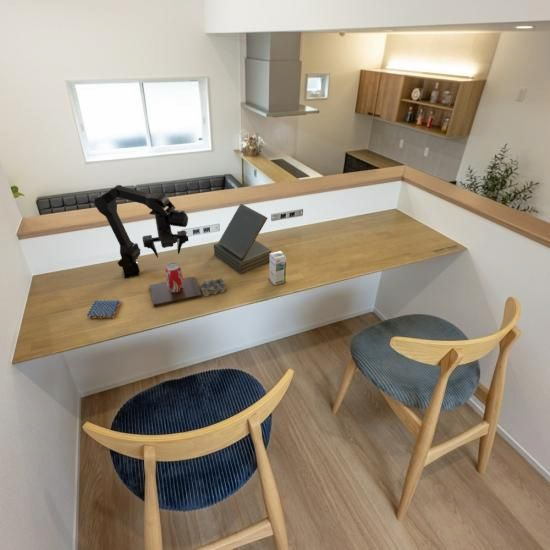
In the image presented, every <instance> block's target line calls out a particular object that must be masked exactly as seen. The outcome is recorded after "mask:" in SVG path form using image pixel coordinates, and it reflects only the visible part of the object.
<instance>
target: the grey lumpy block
mask: <svg viewBox="0 0 550 550" xmlns="http://www.w3.org/2000/svg"><path fill="white" fill-rule="evenodd" d="M199 287H200V292H202V295H203V296H206V297H209V296H210V295H216V294H217V293H222V294H223V293H225V291H226V288H227V286H226V284H225V281H224V280H223V278H222V277H219V278H217V279H216V278H215V279H210V280H203V281H201V282H200V283H199Z"/></svg>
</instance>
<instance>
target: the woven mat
mask: <svg viewBox="0 0 550 550" xmlns="http://www.w3.org/2000/svg"><path fill="white" fill-rule="evenodd" d="M120 304H121V301H120V300H119V299H108V300H106V299H104V300H103V299H102V300H94V301H93V303H92V306H90V309H89V311H88V312H87V314H86V316H87V318H88V319H91V318H92V319H100V320H102V319H103V318H106V319H109V318H112V319H114V318H115V315H116V314H117V311H118V308H119V307H120Z"/></svg>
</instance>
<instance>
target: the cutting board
mask: <svg viewBox="0 0 550 550" xmlns="http://www.w3.org/2000/svg"><path fill="white" fill-rule="evenodd" d="M183 281H184V288H183V290H181V291H179V292H171V291H169V290H168V287H167V281H163V282H156V283H152V284H149V289H150V293H151V299H152V303H153V308H157V307H162V306H167V305H171V304H176V303H182V302H186V301H190V300H196V299H201V298H202V293H201V289H200V288H199V285H198V283H197V280H196V277H195V276H187V277H183Z"/></svg>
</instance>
